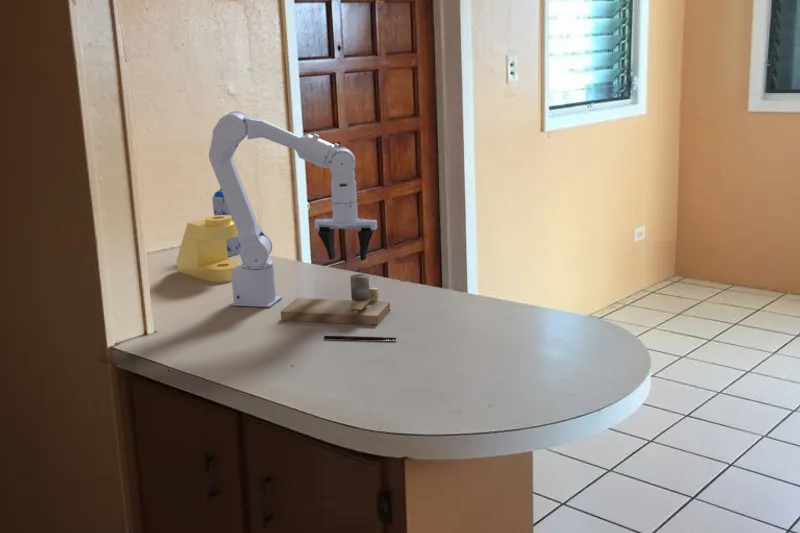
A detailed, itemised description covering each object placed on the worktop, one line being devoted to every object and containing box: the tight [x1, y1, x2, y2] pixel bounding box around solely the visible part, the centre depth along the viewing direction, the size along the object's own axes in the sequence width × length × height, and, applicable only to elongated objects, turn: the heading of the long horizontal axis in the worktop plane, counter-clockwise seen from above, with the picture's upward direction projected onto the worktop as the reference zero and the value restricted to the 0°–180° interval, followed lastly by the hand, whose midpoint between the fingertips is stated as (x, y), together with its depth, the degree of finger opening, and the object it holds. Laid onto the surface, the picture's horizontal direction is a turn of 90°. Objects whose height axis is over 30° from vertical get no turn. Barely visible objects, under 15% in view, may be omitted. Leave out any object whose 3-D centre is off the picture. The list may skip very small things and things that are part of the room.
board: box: [280, 297, 391, 325], centre depth 188 cm, size 22×10×2 cm, turn 76°
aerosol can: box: [211, 188, 241, 257], centre depth 247 cm, size 8×8×20 cm
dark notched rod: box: [323, 335, 397, 341], centre depth 172 cm, size 15×1×1 cm, turn 80°
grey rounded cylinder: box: [349, 273, 380, 310], centre depth 188 cm, size 5×9×8 cm, turn 165°
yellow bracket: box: [176, 215, 242, 283], centre depth 225 cm, size 20×9×16 cm, turn 44°
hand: (347, 259), depth 199 cm, fingers open, 7 cm apart
